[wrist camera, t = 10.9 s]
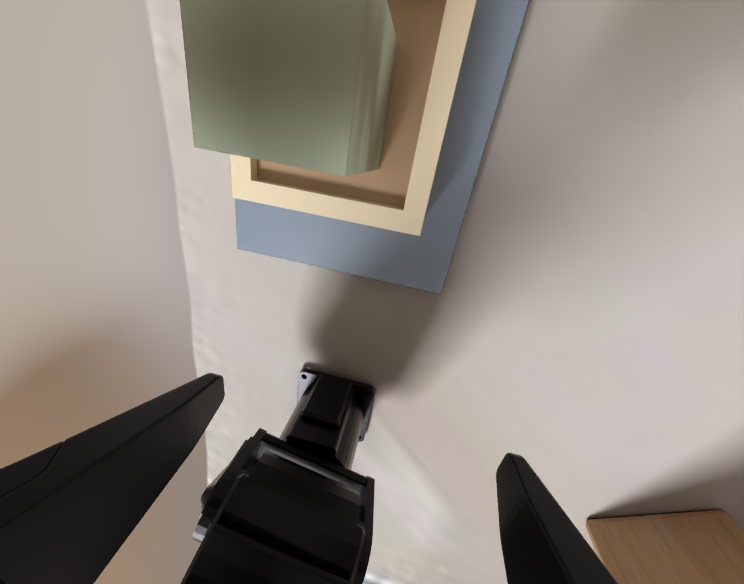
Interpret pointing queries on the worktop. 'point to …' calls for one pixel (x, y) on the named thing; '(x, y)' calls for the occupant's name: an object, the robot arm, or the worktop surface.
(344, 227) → the build base
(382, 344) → the worktop surface
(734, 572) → the wooden block
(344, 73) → the sage block
